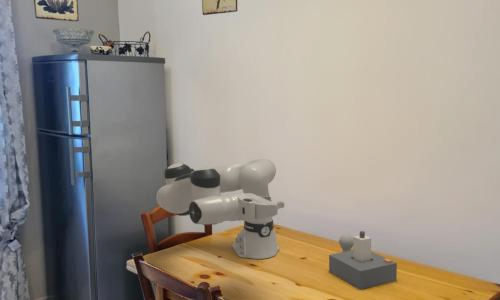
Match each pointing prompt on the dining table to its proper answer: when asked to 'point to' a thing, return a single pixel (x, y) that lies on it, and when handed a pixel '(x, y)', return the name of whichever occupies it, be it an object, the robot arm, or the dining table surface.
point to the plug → (362, 248)
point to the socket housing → (363, 269)
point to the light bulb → (346, 242)
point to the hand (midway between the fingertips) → (276, 201)
